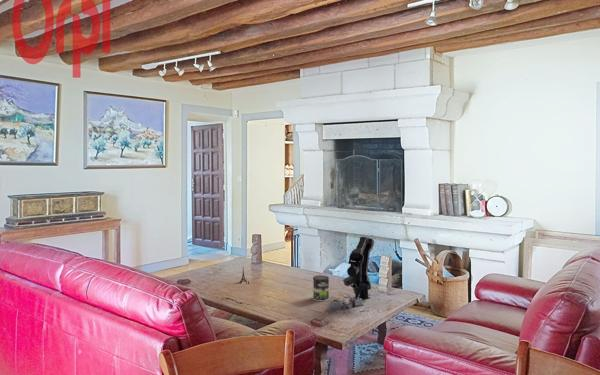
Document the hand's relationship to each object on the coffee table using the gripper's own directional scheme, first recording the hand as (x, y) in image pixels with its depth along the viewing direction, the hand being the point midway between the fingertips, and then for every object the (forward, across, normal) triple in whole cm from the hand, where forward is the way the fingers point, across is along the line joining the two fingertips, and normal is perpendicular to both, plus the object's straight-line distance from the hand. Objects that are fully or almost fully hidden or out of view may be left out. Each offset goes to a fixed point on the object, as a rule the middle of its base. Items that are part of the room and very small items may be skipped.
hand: (356, 297), depth 280 cm
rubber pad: (+5, +6, -20) cm, 21 cm away
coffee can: (+5, -20, -15) cm, 26 cm away
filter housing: (+5, 0, -7) cm, 9 cm away
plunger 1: (+4, 0, -14) cm, 15 cm away
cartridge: (+4, 0, -7) cm, 8 cm away
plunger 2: (+4, 0, 0) cm, 4 cm away
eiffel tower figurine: (+6, -76, -51) cm, 92 cm away
